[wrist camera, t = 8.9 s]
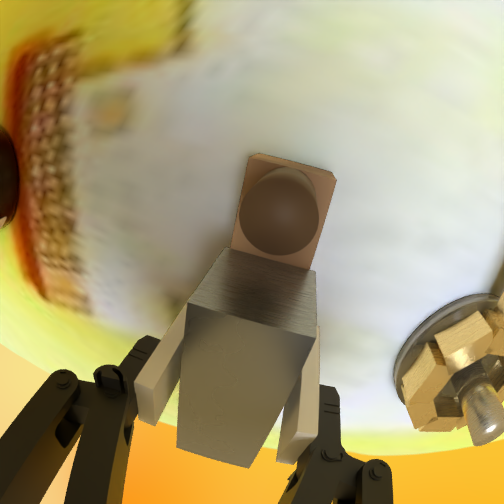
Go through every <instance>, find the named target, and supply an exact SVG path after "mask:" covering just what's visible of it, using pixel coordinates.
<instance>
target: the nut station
mask: <svg viewBox="0 0 504 504" xmlns="http://www.w3.org/2000/svg"><path fill="white" fill-rule="evenodd" d="M499 299H500V297H497V296H495V295H491V294H476V295H471V296H467V297H464V298H461V299H458V300H456V301H454V302H452V303H450V304H448V305H446V306H445V307H443V308H441V309H440V310H438V311H437V312H435V313H434V314H433V315H431V316H430V317H429V318H428V319H427V320H425V321H424V322H423V323H422V324H421V325H420V326H419V327H418V328H417V329H416V330H415V331H414V332H413V334H412V335H411V336H410V337H409V338H408V340H407V341H406V343H405V344H404V346H403V347H402V349H401V351H400V353H399V355H398V358H397V360H396V363H395V367H394V382H395V386H396V390H397V394H398V397H399V398H400V400H401V402H402V403H403V404H404V405H406V404H405V400H404V396H403V392H402V387H401V384H403V380H402V378H403V376H404V375H405V374H406V372H407V371H408V369H409V368H410V366H411V365H412V364H413V362H414V361H415V359H416V358H417V356H418V355H419V353H420V351H421V350H422V348H423V347H424V345H425V344H426V342H431V343H436V340H435V337H434V335H435V334H437V333H439V332H441V331H443V330H445V329H446V328H448V327H450V326H452V325H454V324H456V323H457V322H459V321H461V320H463V319H464V318H466V317H468V316H470V315H471V314H473V313H475V312H476V311H479V312H480V314H481V315H482V314H483V313H484V311H485V309H488V310H491V311H493V310H494V308H495V307H496V305H497V303H498V301H499ZM497 360H498V355H493V354H487V355H486V356H484V357H482V358H480V359H479V360H477V361H475V362H474V363H472V364H470V365H468V366H466V367H465V368H463V369H461V370H459V371H457V372H455V373H454V374H453V375H452V377H451V378H450V379H449V381H448V382H447V383H446V385H445V386H444V387H443V388H442V390H441V391H440V392H439V393H438V394H437V396H443V397H455V396H457V397H458V400H459V403H460V405H461V408H462V411H463V414H464V417H465V420H466V423H467V426H468V429H469V432H470V435H471V438H472V441H473V445H474V446H481V445H484V444H487V443H489V442H491V441H493V440H494V439H496V438H497V437H498V436H500V435H501V434H502V433H503V432H504V408H503V406H502V404H501V401H500V399H499V397H498V395H497V393H496V391H495V389H494V387H493V385H492V383H491V381H490V379H489V377H488V375H487V374H488V373H489V371H490V370H491V369H492V367H493V366H494V365H495V363H496V362H497Z"/></svg>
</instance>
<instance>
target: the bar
mask: <svg viewBox="0 0 504 504" xmlns="http://www.w3.org/2000/svg"><path fill="white" fill-rule="evenodd" d="M316 338H317V325H316V272H315V271H312V270H308V269H305V268H301V267H297V266H294V265H290V264H286V263H282V262H279V261H275V260H271V259H268V258H264V257H260V256H257V255H253V254H249V253H246V252H242V251H238V250H234V249H231V248H227V247H225V248H224V249H223V251H222V252H221V254H220V255H219V257H218V258H217V259H216V261H215V262H214V264H213V265H212V267H211V268H210V270H209V271H208V272H207V274H206V275H205V277H204V278H203V280H202V281H201V283H200V284H199V286H198V287H197V289H196V290H195V292H194V293H193V294H192V296H191V297H190V299H189V300H188V302H187V310H186V319H185V329H184V339H183V350H182V361H181V374H180V388H179V403H178V422H177V446H176V447H177V448H180V449H182V450H185V451H188V452H191V453H194V454H198V455H201V456H204V457H207V458H211V459H214V460H218V461H221V462H225V463H229V464H233V465H237V466H241V467H245V468H249V467H250V466H251V464H252V463H253V461H254V459H255V457H256V456H257V454H258V452H259V451H260V448H261V447H262V445H263V444H264V442H265V440H266V438H267V436H268V435H269V433H270V431H271V429H272V427H273V426H274V424H275V422H276V420H277V418H278V416H279V414H280V412H281V411H282V409H283V407H284V405H285V403H286V401H287V399H288V397H289V395H290V393H291V391H292V389H293V387H294V385H295V383H296V381H297V379H298V377H299V375H300V373H301V371H302V368H303V366H304V364H305V362H306V360H307V358H308V356H309V354H310V351H311V349H312V347H313V345H314V343H315V340H316Z"/></svg>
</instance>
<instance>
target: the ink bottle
mask: <svg viewBox="0 0 504 504" xmlns="http://www.w3.org/2000/svg"><path fill="white" fill-rule="evenodd" d="M16 199H17V168H16V161H15V156H14V152H13V149H12V146H11V143H10V141H9V140H8V138H7V136H6V135H5V134H4V132H3V131H1V130H0V229H1V228H3V227H5V226H6V225H7V224H8V223H9V222H10V221H11V219H12V216H13V214H14V210H15V206H16Z"/></svg>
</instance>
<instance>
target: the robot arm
mask: <svg viewBox="0 0 504 504" xmlns="http://www.w3.org/2000/svg"><path fill="white" fill-rule="evenodd" d="M193 293H194V292H193ZM191 296H192V295H191ZM189 299H190V298H189ZM187 302H188V301H187ZM187 302H186V304H185V305H184V307H183V308H182V310H181V311H180V313H179V314H178V316H177V317H176V319H175V320H174V322H173V323H172V325H171V326H170V328H169V329H168V331H167V332H166V334H165V335H164V337H163V338H162V340H159V339H157V338H154V337H151V336H149V335H146V336H145V337H143V338H141V339H139V340H138V341H137V343H136V344H135V345H134V347H133V349H131V351H130V352H129V353H128V355H127V356H126V357H125V359H124V360H123V361H122V363H121V364H120V366H119V367H118V366H115V365H103V366H100V367H99V368H97V369H96V370H95V372H94V373H93V375H94V380H95V383H93V382H87V381H82V380H78V378H77V376H76V374H74V373H73V372H72V371H69V370H66V369H60V370H57V371H55V372H54V373H52V374H51V375H50V376H49V378H48V379H47V380H46V381H45V382H44V384H43V385H42V386H41V387H40V388H39V390H38V391H37V392H36V393H35V395H34V396H33V397H32V398H31V399H30V401H29V402H28V403H27V404H26V406H25V407H24V408H23V410H22V411H21V412H20V413H19V415H18V416H17V417H16V419H15V420H14V421H13V422H12V424H11V425H10V426H9V428H8V429H7V430H6V432H5V433H4V434H3V436H2V437H1V438H0V504H40V502H41V500H42V498H43V497H44V495H45V493H46V491H47V490H48V488H49V486H50V485H51V483H52V481H53V479H54V478H55V476H56V474H57V473H58V471H59V469H60V468H61V466H62V464H63V463H64V461H65V459H66V458H67V456H68V454H69V453H70V451H71V450H72V448H73V446H74V445H75V443H76V442H77V440H78V438H79V437H80V435H81V437H80V441H79V444H78V447H77V451H76V455H75V458H74V462H73V466H72V470H71V474H70V478H69V482H68V487H67V492H66V496H65V501H64V504H122V497H123V490H124V483H125V476H126V470H127V463H128V457H129V452H130V446H131V440H132V435H133V430H134V420H135V418H136V416H137V414H138V418H139V420H141V421H143V422H146V423H148V424H151V425H153V426H156V424H157V422H158V420H159V418H160V416H161V414H162V412H163V410H164V408H165V406H166V404H167V402H168V400H169V398H170V396H171V394H172V392H173V390H174V388H175V386H176V384H177V382H178V380H179V378H180V374H181V361H182V350H183V339H184V329H185V319H186V310H187ZM319 375H320V340H319V326H317V338H316V340H315V343H314V345H313V347H312V349H311V351H310V354H309V356H308V358H307V360H306V362H305V364H304V366H303V368H302V371H301V373H300V375H299V377H298V379H297V381H296V383H295V385H294V387H293V389H292V391H291V393H290V395H289V397H288V399H287V401H286V403H285V405H284V411H283V418H282V425H281V432H280V439H279V445H278V451H277V458H276V462H280V463H286V464H292V465H294V464H295V462H296V461H297V469H296V470H295V471H294V472H293V473H292V474H291V475H290V477H289V478H288V480H289V483H288V485H287V487H286V489H285V491H284V493H283V495H282V497H281V499H280V501H279V502H278V504H331V503H332V500H333V504H393V488H392V487H393V486H392V472H391V469H390V467H389V465H388V464H387V463H385V462H384V461H383V460H379V459H372V460H370V461H368V462H363V461H360V460H358V459H355V458H353V457H351V456H349V455H348V454H347V453H346V452H345V449H344V448H343V447H342V445H341V430H340V408H339V407H340V397H339V394H338V392H337V390H336V388H335V387H331V386H325V385H320V384H319Z"/></svg>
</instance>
